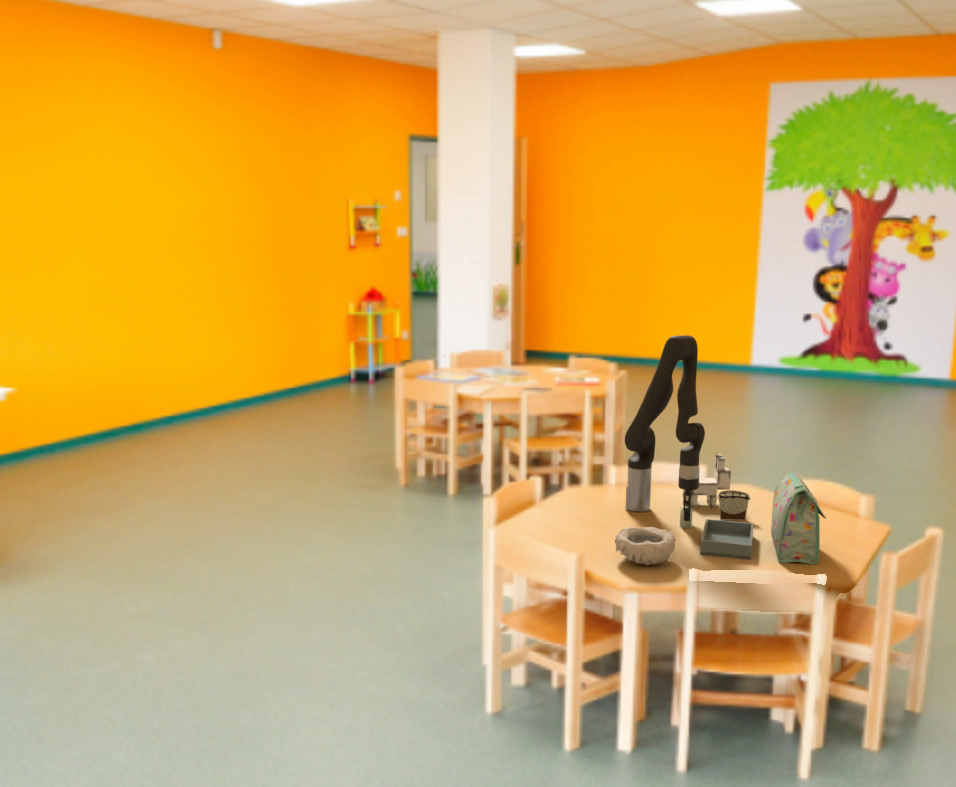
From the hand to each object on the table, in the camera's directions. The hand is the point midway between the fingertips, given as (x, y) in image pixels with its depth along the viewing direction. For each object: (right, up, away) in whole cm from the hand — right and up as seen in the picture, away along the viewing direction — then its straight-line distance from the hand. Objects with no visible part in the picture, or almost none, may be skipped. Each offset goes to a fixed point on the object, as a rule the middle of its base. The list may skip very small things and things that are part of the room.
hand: (687, 517), depth 375 cm
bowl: (-22, -11, -34) cm, 42 cm away
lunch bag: (+32, -9, -26) cm, 42 cm away
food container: (+19, -2, +11) cm, 22 cm away
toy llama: (+12, +2, +27) cm, 30 cm away
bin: (+10, -8, -19) cm, 23 cm away
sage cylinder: (-1, -4, +1) cm, 4 cm away
